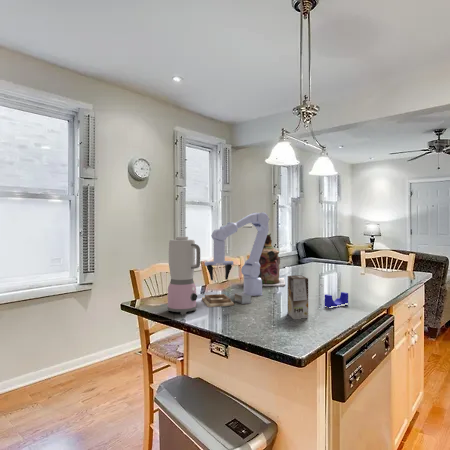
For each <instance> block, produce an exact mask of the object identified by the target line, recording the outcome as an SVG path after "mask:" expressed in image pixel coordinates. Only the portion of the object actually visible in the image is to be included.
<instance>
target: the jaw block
mask: <svg viewBox="0 0 450 450" xmlns="http://www.w3.org/2000/svg"><path fill="white" fill-rule="evenodd" d="M234 302H237V303H238V304H240V305H246V304H252V296H251V295H249V294H246V293H241V292H236V293H234Z"/></svg>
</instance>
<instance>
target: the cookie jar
mask: <svg viewBox="0 0 450 450" xmlns="http://www.w3.org/2000/svg"><path fill="white" fill-rule="evenodd" d="M271 235H272V233H268V234H267V237H266V240H265V244H264V247H263V250H262V253H261V256H260V259H259V263H260V274H259V276H258V278H261V280H262V287H284V286H285V285H286V281H285V277H280V273H281V271H280V269H281V268H280V264H281V257H280V256H279V254H280V251H279V250H276V249H275V248H274V247H273V245H272V242H273V240H272V236H271Z"/></svg>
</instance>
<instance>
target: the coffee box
mask: <svg viewBox="0 0 450 450" xmlns="http://www.w3.org/2000/svg"><path fill="white" fill-rule="evenodd" d="M287 315H288V316H289V317H291V319H292V320H302V319H301V318H308V319H309V278H308V277H305V276H303V274H302V275H301V274H300V275H298V274H297V275H296V274H295V275H287Z"/></svg>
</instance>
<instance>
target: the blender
mask: <svg viewBox="0 0 450 450" xmlns="http://www.w3.org/2000/svg"><path fill="white" fill-rule="evenodd" d="M195 243H196V241H195V240H194V239H189V237H188V236H176V237H175V239H170V240H169V241H168V267H169V273H170V281H169V284H168V287H167V312H168V311H170V312H175V313H180V315H181V314H186V315H187V312H192V311H193V312H195V311H196V312H197V298H198V295H197V286H196V284H195V281H194V275H195V274H194V273H195V270H196V269H199V268H200V266H201V247H200V246H199V245H198V244H195Z"/></svg>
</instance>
